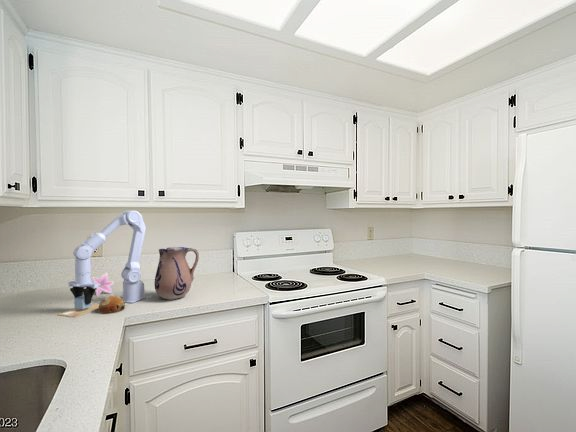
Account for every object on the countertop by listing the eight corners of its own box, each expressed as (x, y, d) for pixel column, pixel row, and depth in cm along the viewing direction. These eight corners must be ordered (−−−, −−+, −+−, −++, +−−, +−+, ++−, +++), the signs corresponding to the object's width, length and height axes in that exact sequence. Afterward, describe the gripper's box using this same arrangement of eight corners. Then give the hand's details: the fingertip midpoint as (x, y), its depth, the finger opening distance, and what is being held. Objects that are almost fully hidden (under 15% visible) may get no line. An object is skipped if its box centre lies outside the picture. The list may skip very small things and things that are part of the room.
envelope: (90, 303, 142) (90, 302, 142) (107, 305, 140) (107, 304, 140) (57, 315, 127) (57, 314, 127) (75, 317, 124) (75, 316, 124)
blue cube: (83, 305, 136) (83, 295, 136) (91, 305, 135) (91, 296, 135) (74, 308, 132) (74, 298, 131) (82, 309, 130) (82, 299, 130)
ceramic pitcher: (153, 295, 156) (153, 247, 156) (195, 289, 166) (194, 244, 165) (155, 304, 141) (155, 251, 140) (201, 298, 150) (201, 248, 150)
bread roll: (118, 313, 140) (113, 297, 141) (132, 307, 135) (126, 290, 137) (97, 320, 131) (92, 303, 132) (110, 314, 126) (105, 296, 128)
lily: (82, 298, 154) (87, 283, 151) (90, 284, 164) (94, 270, 161) (108, 302, 159) (113, 288, 156) (114, 288, 169) (118, 275, 166)
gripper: (61, 273, 131) (62, 304, 131) (88, 275, 127) (88, 307, 128) (76, 270, 138) (77, 299, 138) (102, 272, 134) (102, 302, 134)
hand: (83, 303), depth 133 cm, fingers closed on blue cube, 4 cm apart
